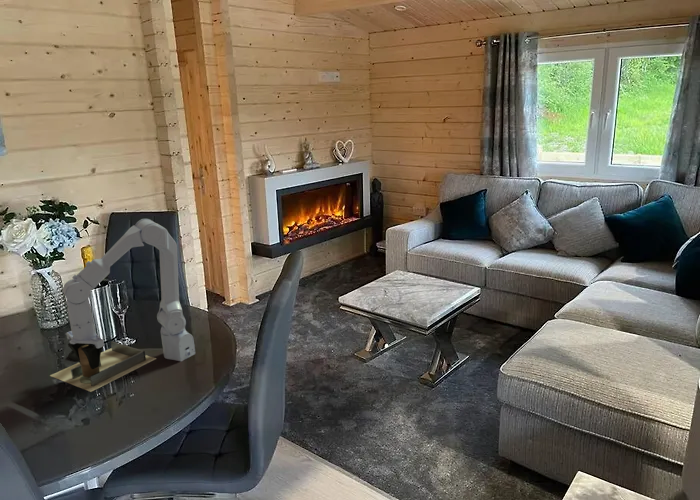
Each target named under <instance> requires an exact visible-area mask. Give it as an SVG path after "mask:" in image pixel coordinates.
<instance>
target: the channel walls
mask: <svg viewBox="0 0 700 500" xmlns="http://www.w3.org/2000/svg"><path fill="white" fill-rule="evenodd" d="M110 345H111V348H112V351H115V352H118V353H121V354H124V355H127V356H131V357H129V358H127V359H125V360H123V361H121V362H119V363H117V364H115V365H112V366H110V367H108V368H106V369H104V370H102V371H100V372H98V373H96V374H94V375H92V376H90V381H91V386H92V387H93V386H95V385H97V384H99V383H101V382H103V381H105V380H107V379H109V378H111V377H113V376H115V375H117V374H119V373H121V372H123V371H125V370H127V369H129V368H131V367H133V366H135V365H137V364H139V363H141V362H143V361H145V360H146V357H145V355H146V352H145V350H142V349H139V348H136V347H134V346H133V347H132V346H129V345H125V344H122V343H119V342H115V341H110ZM99 367H101V361H100V363H99ZM71 374H72V379H76V378H78V377H80V376H82V375H83V373H82V368H81V365H79V366H77V367H75V368H73V369H71Z"/></svg>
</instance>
